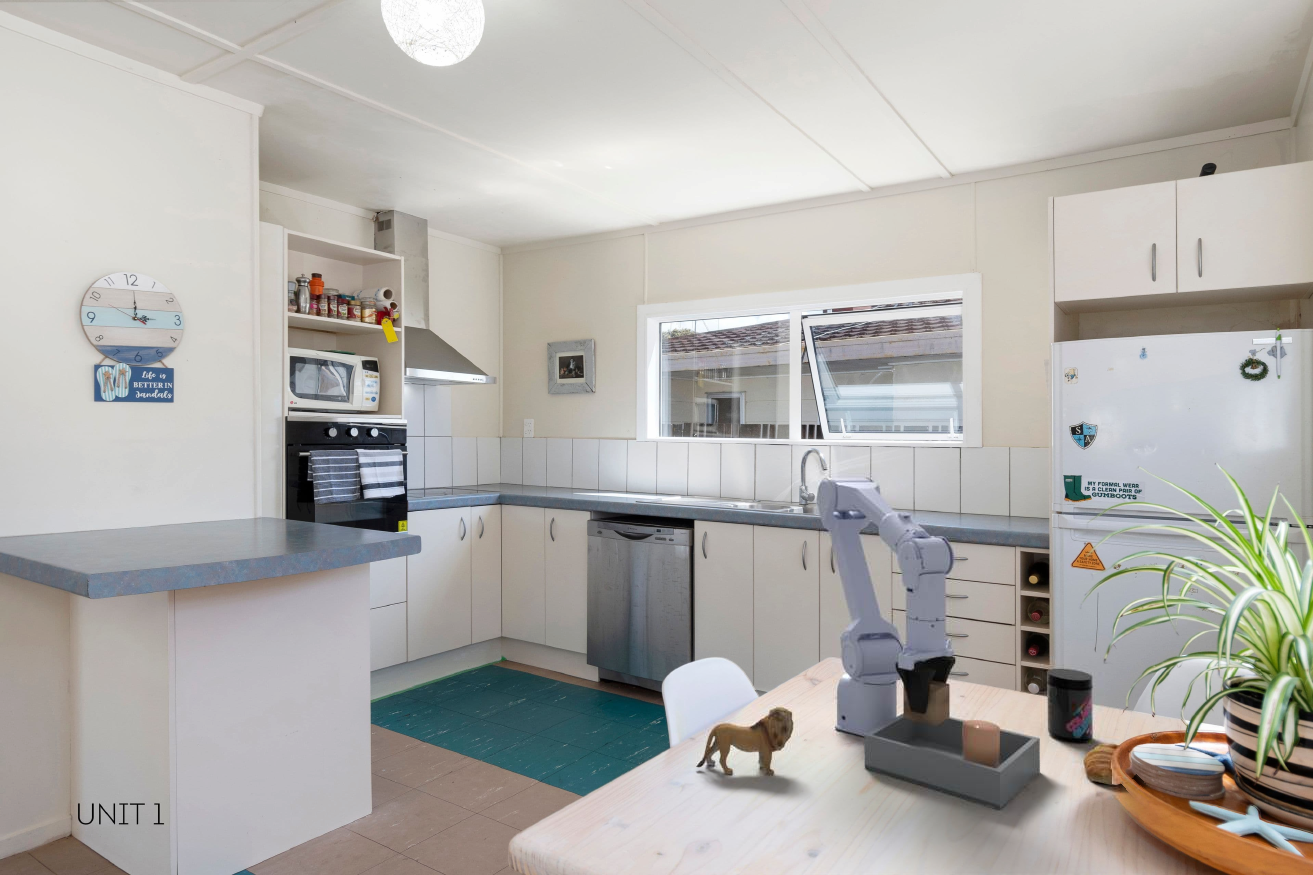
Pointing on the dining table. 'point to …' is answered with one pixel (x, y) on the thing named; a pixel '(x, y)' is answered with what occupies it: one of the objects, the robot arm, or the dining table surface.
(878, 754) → the tote
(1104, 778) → the pastry
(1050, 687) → the supplement container
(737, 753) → the dining table surface
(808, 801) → the dining table surface
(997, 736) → the terracotta cylinder
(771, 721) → the lion figurine
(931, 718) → the walnut block
